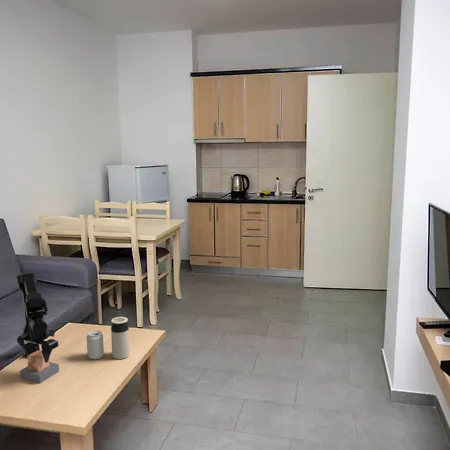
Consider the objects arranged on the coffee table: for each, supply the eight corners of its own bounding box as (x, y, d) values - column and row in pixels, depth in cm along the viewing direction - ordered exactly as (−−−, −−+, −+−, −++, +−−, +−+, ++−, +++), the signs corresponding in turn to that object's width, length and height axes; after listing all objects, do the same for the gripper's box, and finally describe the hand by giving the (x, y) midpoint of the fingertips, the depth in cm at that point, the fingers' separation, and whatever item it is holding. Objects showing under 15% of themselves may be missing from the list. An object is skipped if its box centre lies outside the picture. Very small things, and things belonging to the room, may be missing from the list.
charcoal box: (20, 379, 197) (19, 370, 196) (40, 367, 207) (39, 359, 206) (40, 384, 193) (39, 375, 192) (59, 372, 203) (58, 364, 202)
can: (99, 361, 212) (98, 336, 210) (84, 359, 214) (83, 335, 212) (106, 353, 219) (105, 330, 217) (92, 352, 221) (91, 328, 219)
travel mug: (128, 359, 214) (127, 322, 211) (111, 359, 213) (109, 323, 210) (130, 351, 222) (129, 316, 219) (113, 352, 221) (112, 316, 218)
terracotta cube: (28, 368, 198) (27, 355, 196) (39, 362, 203) (38, 350, 202) (38, 371, 195) (37, 358, 194) (49, 365, 200) (48, 352, 199)
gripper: (67, 323, 199) (69, 356, 202) (35, 316, 207) (38, 348, 210) (46, 332, 189) (49, 367, 192) (14, 324, 197) (17, 358, 200)
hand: (39, 360), depth 198 cm, fingers open, 9 cm apart
